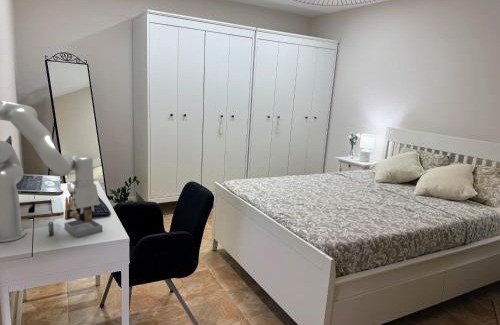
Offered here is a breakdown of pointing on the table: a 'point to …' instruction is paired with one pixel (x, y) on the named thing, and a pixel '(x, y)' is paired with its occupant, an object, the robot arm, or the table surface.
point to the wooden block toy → (87, 215)
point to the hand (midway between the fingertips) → (86, 219)
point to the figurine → (70, 187)
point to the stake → (51, 228)
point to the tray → (83, 228)
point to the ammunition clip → (69, 208)
